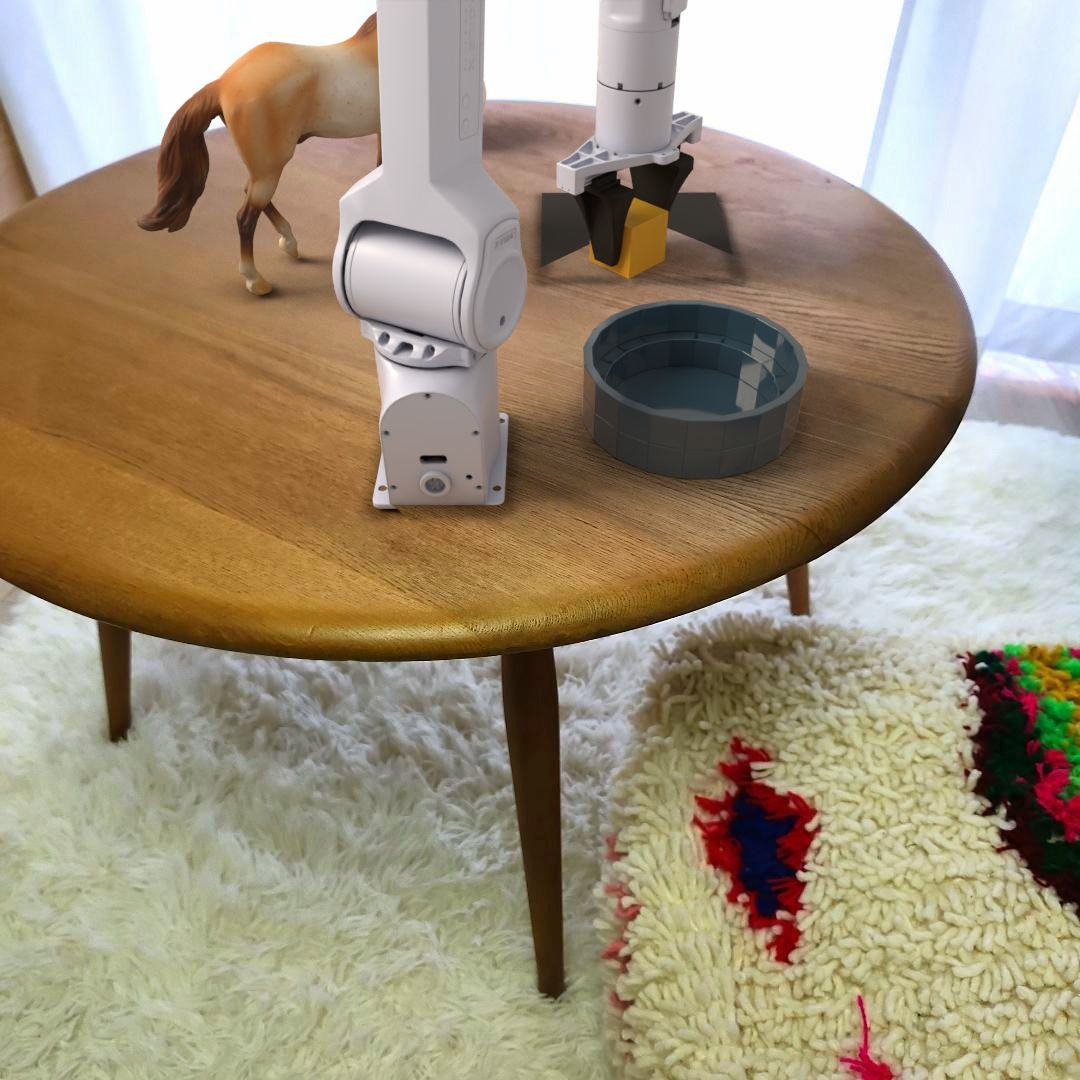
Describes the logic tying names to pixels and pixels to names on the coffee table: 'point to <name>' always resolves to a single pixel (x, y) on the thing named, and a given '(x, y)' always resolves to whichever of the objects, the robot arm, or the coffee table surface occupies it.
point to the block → (640, 239)
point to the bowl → (692, 388)
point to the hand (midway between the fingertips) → (626, 251)
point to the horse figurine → (268, 129)
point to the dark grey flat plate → (686, 216)
